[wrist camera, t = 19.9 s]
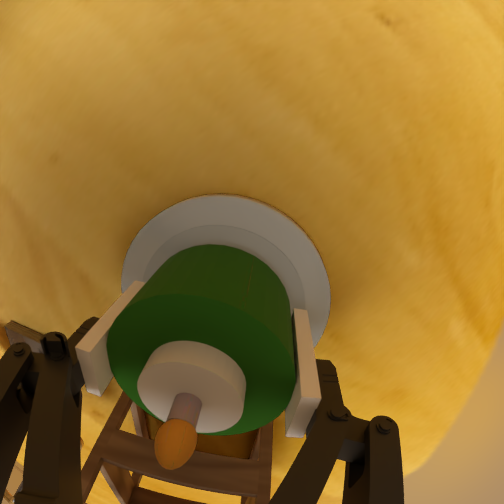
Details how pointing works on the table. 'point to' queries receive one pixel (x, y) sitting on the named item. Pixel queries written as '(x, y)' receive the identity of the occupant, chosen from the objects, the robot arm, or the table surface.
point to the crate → (190, 474)
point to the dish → (238, 236)
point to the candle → (205, 348)
